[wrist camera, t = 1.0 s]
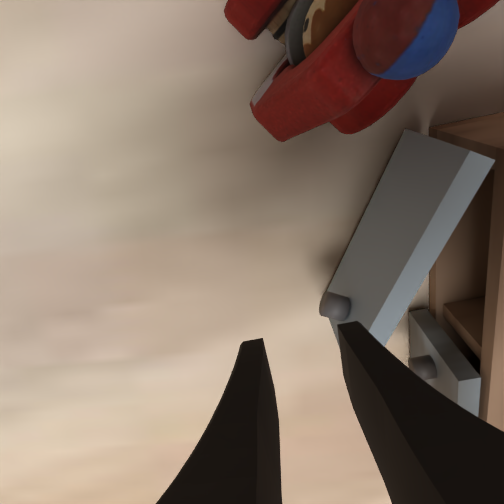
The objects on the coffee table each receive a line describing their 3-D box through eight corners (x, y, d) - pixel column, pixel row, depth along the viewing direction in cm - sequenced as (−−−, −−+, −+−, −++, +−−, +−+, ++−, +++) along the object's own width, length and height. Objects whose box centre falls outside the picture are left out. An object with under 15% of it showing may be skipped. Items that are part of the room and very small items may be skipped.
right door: (424, 135, 18) (495, 159, 13) (338, 304, 22) (368, 373, 17) (384, 120, 18) (441, 139, 13) (304, 295, 21) (324, 362, 16)
